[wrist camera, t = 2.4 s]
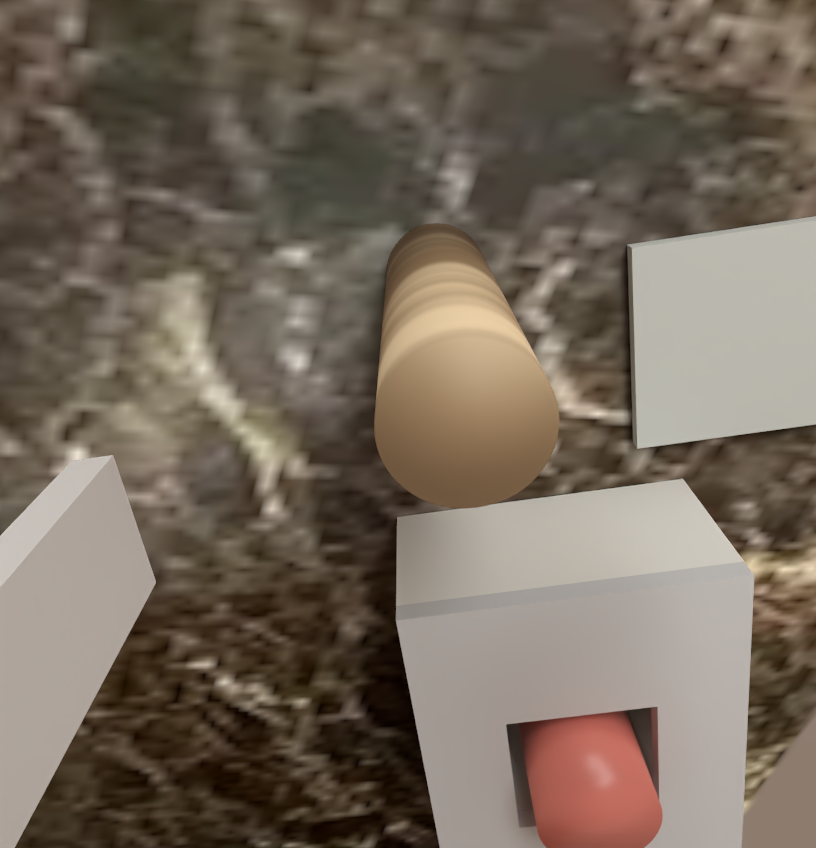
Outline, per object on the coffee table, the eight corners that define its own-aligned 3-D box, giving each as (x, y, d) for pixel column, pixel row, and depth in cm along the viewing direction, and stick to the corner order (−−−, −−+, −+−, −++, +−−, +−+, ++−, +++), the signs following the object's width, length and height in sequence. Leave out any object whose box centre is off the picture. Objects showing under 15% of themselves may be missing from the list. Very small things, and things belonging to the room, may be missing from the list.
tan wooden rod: (379, 231, 27) (359, 353, 14) (479, 216, 26) (552, 325, 14) (395, 327, 28) (389, 518, 15) (489, 313, 28) (565, 495, 15)
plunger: (512, 679, 30) (531, 784, 25) (621, 665, 30) (662, 769, 25) (521, 758, 32) (541, 870, 27) (625, 746, 31) (663, 857, 27)
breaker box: (396, 517, 31) (395, 620, 25) (682, 478, 31) (754, 575, 25) (445, 785, 38) (454, 921, 32) (682, 758, 37) (739, 891, 31)
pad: (626, 244, 27) (631, 248, 26) (852, 210, 26) (861, 213, 26) (633, 442, 30) (637, 448, 30) (834, 414, 30) (842, 420, 29)
